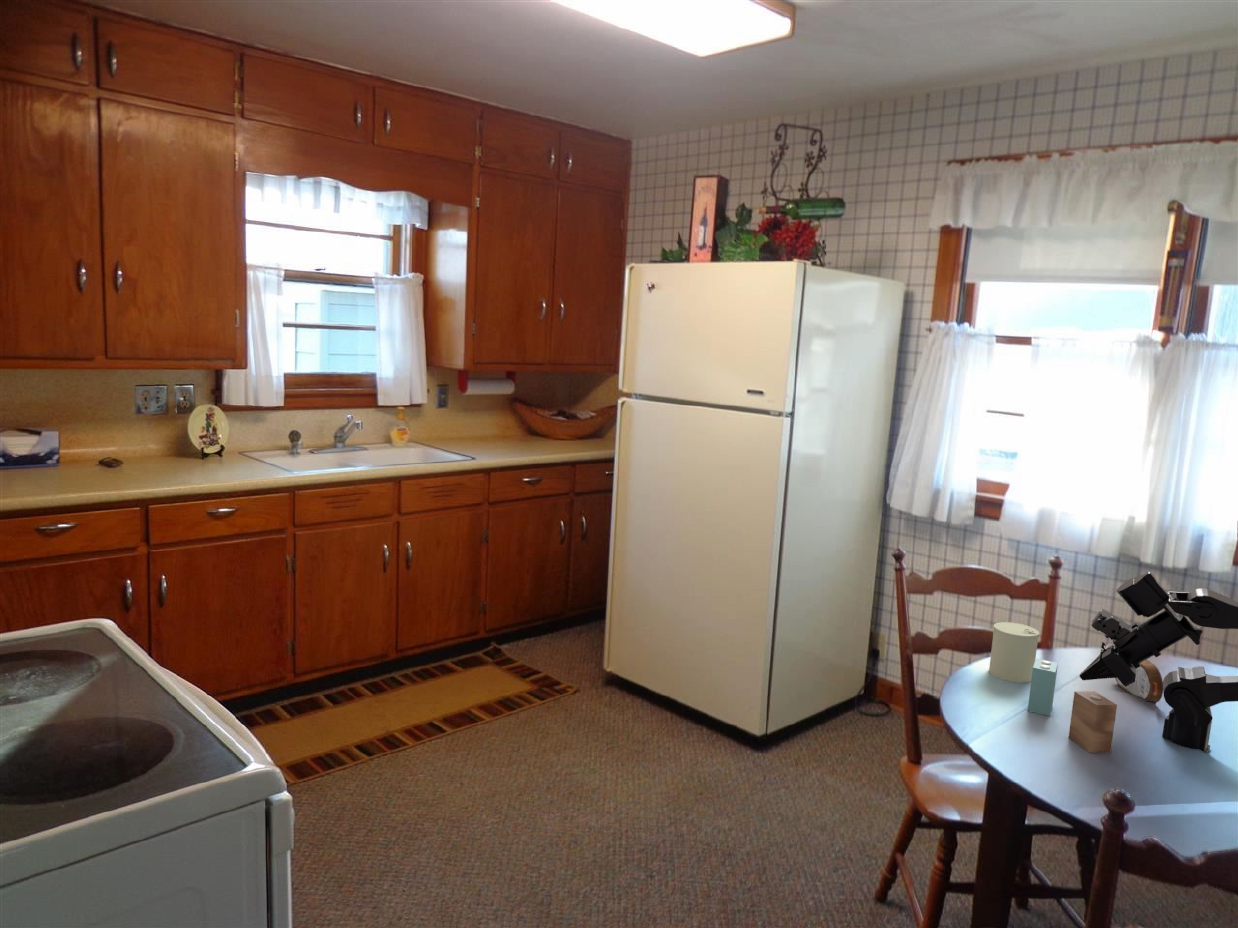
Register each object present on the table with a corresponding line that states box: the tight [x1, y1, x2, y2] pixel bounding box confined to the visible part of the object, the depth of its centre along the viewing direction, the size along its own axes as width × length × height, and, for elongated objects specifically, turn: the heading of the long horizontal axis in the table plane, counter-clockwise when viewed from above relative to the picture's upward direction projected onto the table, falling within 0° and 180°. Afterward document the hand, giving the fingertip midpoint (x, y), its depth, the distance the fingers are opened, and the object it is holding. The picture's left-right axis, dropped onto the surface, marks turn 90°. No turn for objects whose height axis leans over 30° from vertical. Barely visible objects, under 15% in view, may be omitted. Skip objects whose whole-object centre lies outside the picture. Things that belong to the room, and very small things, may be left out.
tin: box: [1114, 659, 1164, 704], centre depth 188 cm, size 15×3×8 cm, turn 179°
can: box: [988, 621, 1040, 684], centre depth 192 cm, size 9×9×12 cm
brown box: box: [1068, 690, 1118, 754], centre depth 160 cm, size 4×6×9 cm, turn 9°
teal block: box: [1027, 658, 1059, 717], centre depth 175 cm, size 4×6×9 cm, turn 150°
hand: (1080, 677), depth 171 cm, fingers closed
